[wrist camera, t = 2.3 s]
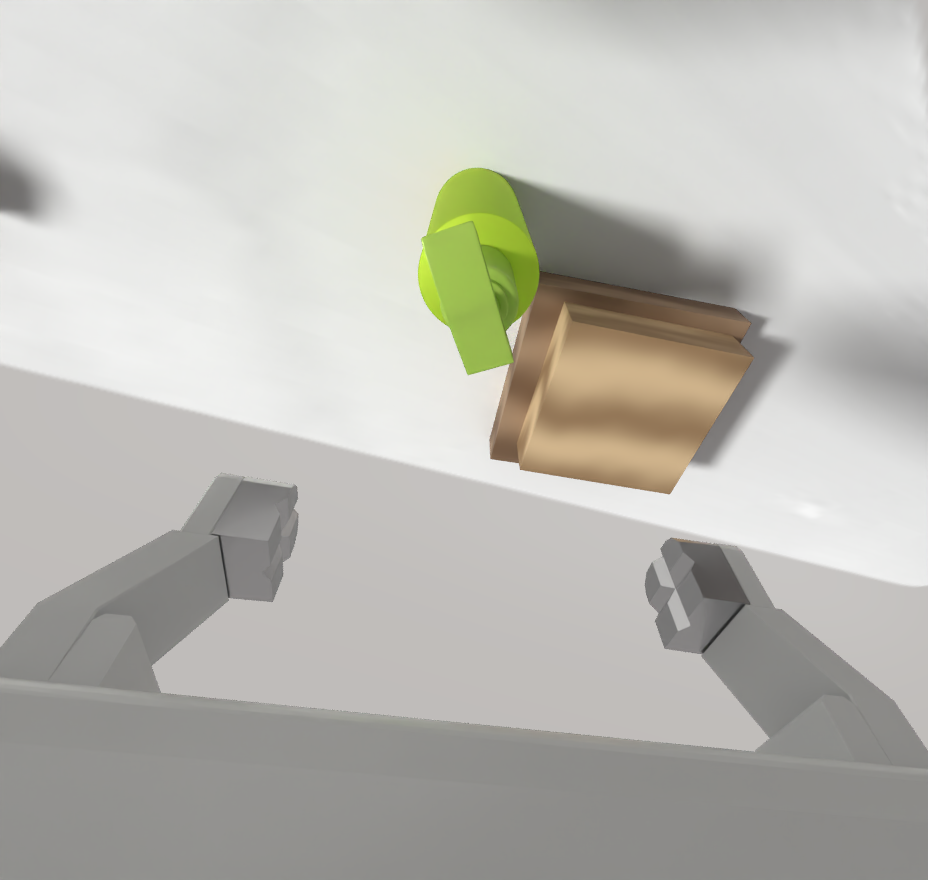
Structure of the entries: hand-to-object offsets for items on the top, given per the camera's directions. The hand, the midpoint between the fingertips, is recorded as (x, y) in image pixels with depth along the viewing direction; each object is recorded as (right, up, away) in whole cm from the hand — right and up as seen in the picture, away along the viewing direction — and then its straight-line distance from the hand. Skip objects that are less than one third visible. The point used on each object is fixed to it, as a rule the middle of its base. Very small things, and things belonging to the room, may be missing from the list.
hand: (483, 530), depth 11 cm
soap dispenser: (0, +18, +23) cm, 30 cm away
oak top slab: (+12, +6, +29) cm, 32 cm away
